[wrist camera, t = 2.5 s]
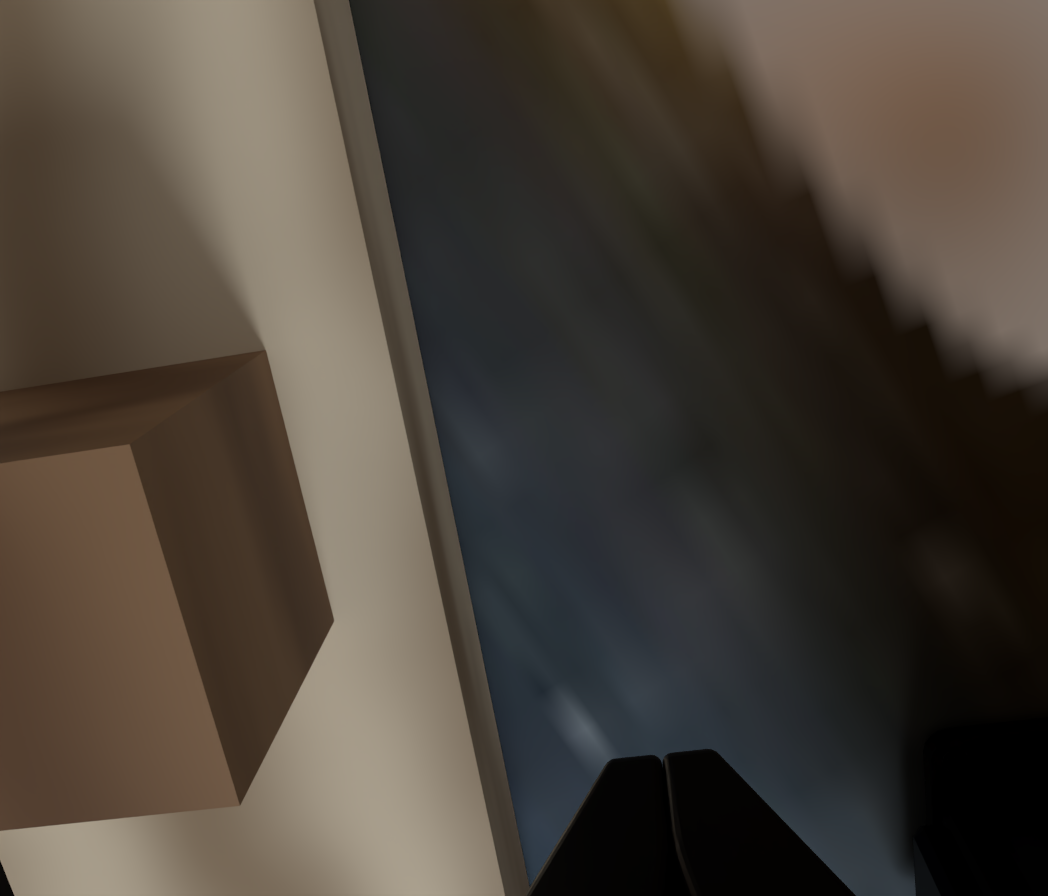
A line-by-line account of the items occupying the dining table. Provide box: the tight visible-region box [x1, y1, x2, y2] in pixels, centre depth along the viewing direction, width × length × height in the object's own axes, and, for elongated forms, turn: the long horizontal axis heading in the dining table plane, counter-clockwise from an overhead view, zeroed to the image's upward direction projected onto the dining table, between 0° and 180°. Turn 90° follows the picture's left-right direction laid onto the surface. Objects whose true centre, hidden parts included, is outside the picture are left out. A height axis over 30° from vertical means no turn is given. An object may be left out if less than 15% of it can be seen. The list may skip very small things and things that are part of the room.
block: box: [0, 350, 334, 831], centre depth 14 cm, size 5×5×5 cm
